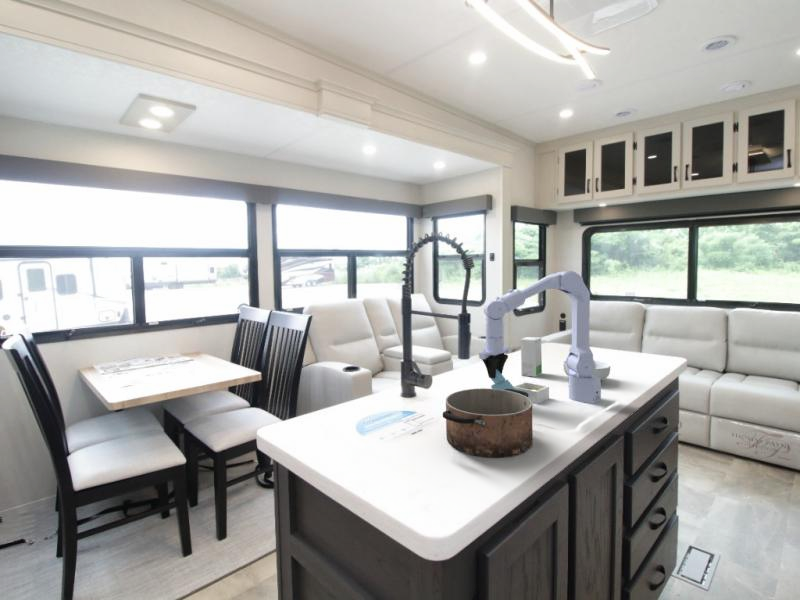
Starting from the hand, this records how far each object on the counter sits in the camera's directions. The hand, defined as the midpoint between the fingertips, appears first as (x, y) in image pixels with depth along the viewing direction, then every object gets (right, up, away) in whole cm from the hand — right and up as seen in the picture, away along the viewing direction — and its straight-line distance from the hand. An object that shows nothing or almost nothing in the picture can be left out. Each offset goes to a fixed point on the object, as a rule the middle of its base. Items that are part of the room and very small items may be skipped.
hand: (495, 376), depth 138 cm
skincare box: (+24, -6, +36) cm, 43 cm away
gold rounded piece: (+14, -8, +1) cm, 16 cm away
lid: (+2, -4, -2) cm, 5 cm away
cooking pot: (-8, -12, -29) cm, 32 cm away
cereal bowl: (+41, -6, +23) cm, 48 cm away
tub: (+13, -8, +2) cm, 15 cm away
